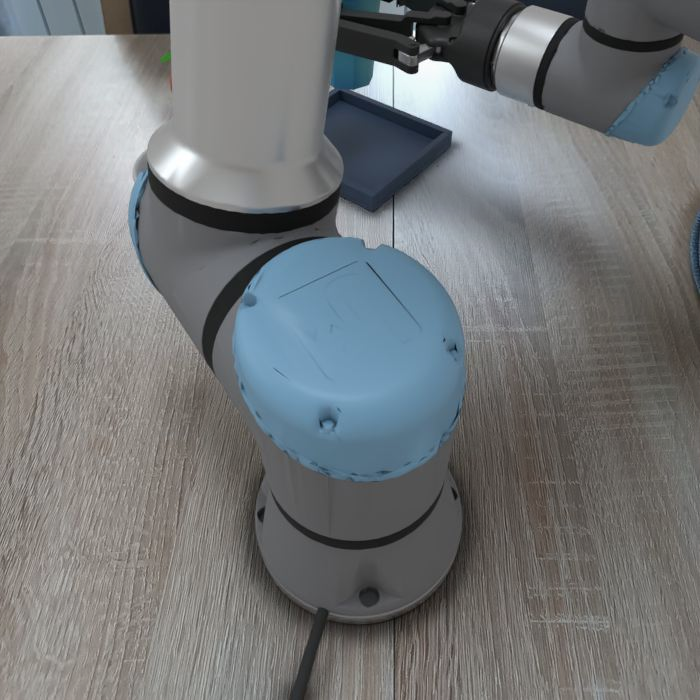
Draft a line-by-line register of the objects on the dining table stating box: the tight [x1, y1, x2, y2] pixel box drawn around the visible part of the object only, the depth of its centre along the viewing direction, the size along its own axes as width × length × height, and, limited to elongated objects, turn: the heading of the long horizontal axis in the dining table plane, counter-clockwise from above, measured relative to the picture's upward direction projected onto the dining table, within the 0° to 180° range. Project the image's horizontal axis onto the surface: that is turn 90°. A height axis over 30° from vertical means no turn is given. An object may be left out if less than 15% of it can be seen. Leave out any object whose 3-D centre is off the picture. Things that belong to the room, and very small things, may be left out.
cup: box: [330, 0, 381, 91], centre depth 67 cm, size 14×8×15 cm, turn 100°
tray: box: [324, 87, 453, 213], centre depth 79 cm, size 16×18×2 cm
